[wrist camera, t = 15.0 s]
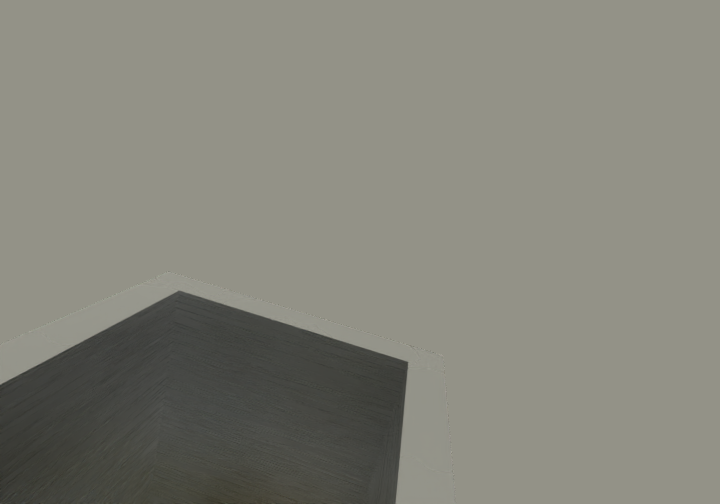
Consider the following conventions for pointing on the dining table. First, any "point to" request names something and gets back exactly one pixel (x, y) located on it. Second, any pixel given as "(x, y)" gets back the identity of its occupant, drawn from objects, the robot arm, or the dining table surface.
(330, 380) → the sleeve
